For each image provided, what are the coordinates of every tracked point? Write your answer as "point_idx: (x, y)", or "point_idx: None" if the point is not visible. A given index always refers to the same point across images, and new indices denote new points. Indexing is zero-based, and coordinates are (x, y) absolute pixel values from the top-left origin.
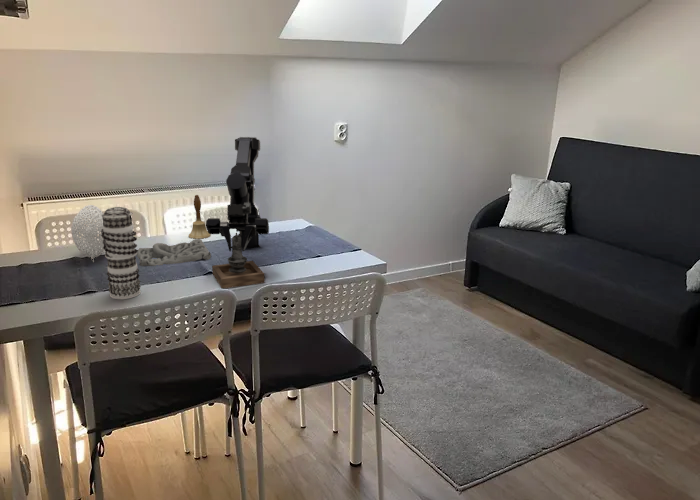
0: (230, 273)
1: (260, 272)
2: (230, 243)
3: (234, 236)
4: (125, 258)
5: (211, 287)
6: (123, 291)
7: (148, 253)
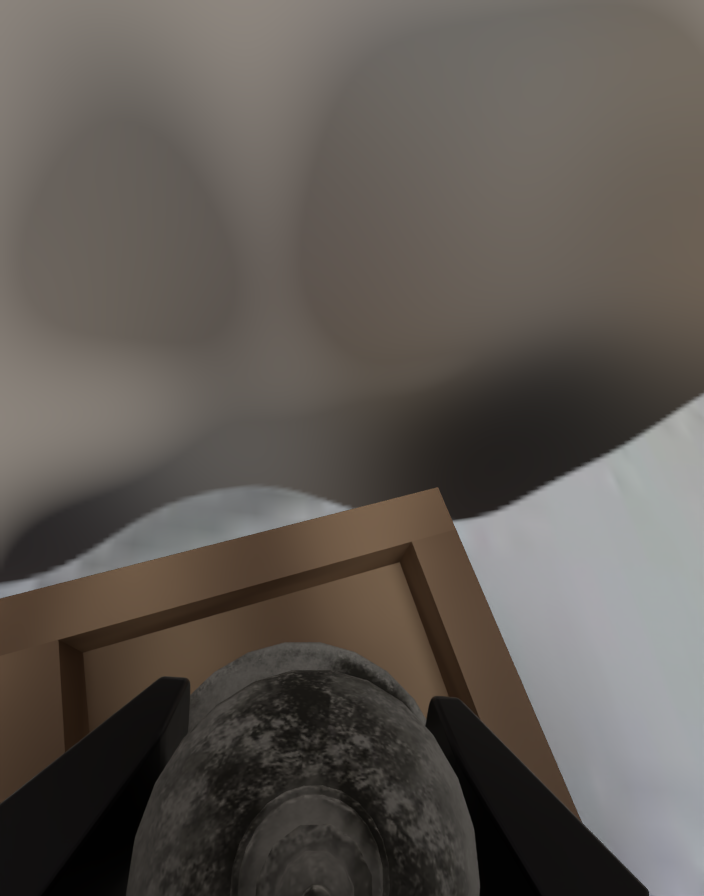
0: None
1: (29, 640)
2: (476, 829)
3: (391, 789)
4: None
5: (506, 560)
6: None
7: None
